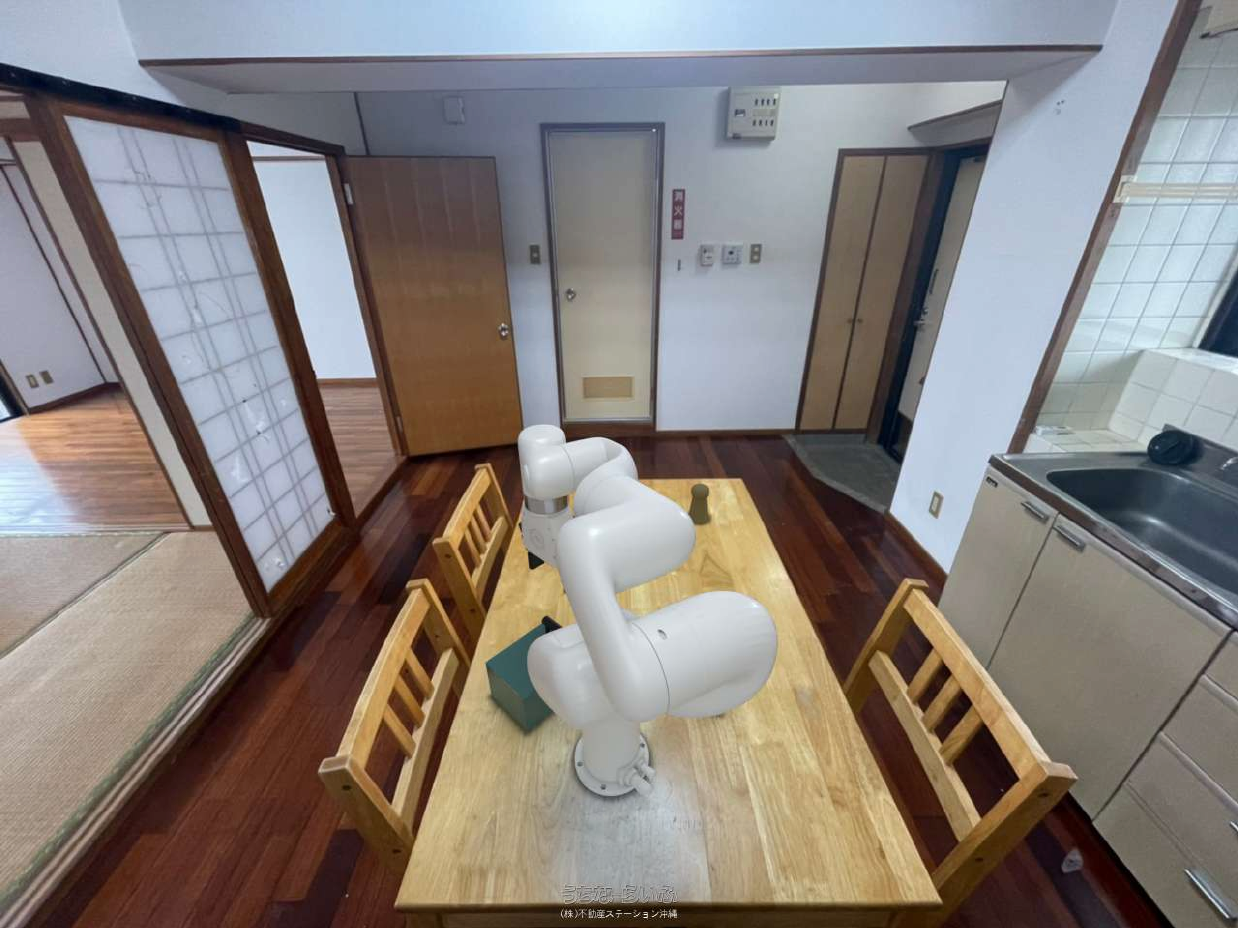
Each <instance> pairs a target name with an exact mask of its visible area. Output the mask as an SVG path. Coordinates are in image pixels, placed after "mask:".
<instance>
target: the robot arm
mask: <svg viewBox="0 0 1238 928" xmlns="http://www.w3.org/2000/svg"><path fill="white" fill-rule="evenodd" d="M517 449H518V458H519V468H520V475H521V485H522V493H523V500H522V504H521V505H522V506H521V521H520V522H518V523H517V525H518V528H519V530H520V533H521V539H522V543H523V546H524V548H525V551H527V559H528V560H527V561H528V569H530V570H531V571H533V570H535V569H537V568H539V567H540V566H542V565H544V564H545V563H547V565H550V566H551V567H554V568H557V571H558V575H559V578H560V582H561V584H562V587H563V594H564V595H565V596H566V598H567V601H568V604H569V606H570V608H571V611H572V613H573V617H574V619H575V622H573V623H570V624H568V625H565V626H562V627H563V628H560V629H558V630H555V631H552V632H550V633H547V634H545V635H543V636H541V637H539V638H537V639H536V640H535V641H534V642H533V643H532V644H531V646H530V648H529V651H528V656H527V667H528V673H529V676H530V679H531V682H532V684H533V686H534V688H535V690H536V692H537V693H538V695H539V696H540V697H541V699H542V700H543V701H544V702H545V703H546V704H547V705H548V706H549V707H550V708H551V709H552V710H553V711H552V712H553V713H554V714H555V715H556V716H557V717H558V718H559V719H560V721H562V722H563V723H564V724H566V726H568V727H569V728H571V729H573V730H575V731H581V737H580V738H579V740H578V741H577V744H576V747H575V749H574V768H575V771H576V775H577V777H578V779H579V780H580V781H581V783H582V784H583V785H584V786H585V787H586V788H587V789H588V790H590V791H591V792H593V793H595V794H597V795H600V796H605V797H617V796H621V795H625V794H627V793H629V792H631V791H633V790H634V789H635V790H636V791H637V792H638V793H639V794H640V795H641V796H642V797H643V798H644V799H647V798H648V797H649V796H650V795H651V793H652V791H653V786H652V784H650V783H649V782H648V781H647V780H646V779H645V776H646V777H647V778H648V779H649V780H653V779H654V778H655V776H656V773H657V771H656V770H655V769H653V767H651V766H649V761H650V753H649V747H648V744H647V742H646V740H645V738H644V737H643V735H642V734H641V723H646V722H651V721H653V720H656V719H658V718H661V717H663V716H664V715H667V716H671V717H675V718H683V719H703V718H704V719H705V718H711V717H715V716H720V715H723V714H725V713H728V712H731V711H733V710H735V709H737V708H739V707H741V706H743V705H745V704H746V703H747V702H749V701H750V700H752V699H753V698H754V697H755V696H756V695H757V694H758V693H759V692H761V690H762V689H763V687H764V686H765V685H766V683H767V682H768V680H769V679H770V677H771V674H772V672H773V670H774V667H775V663H776V660H777V654H778V645H779V639H778V631H777V626H776V623H775V621H774V618H773V617H772V615H771V614H770V612H769V611H768V610H767V608H766V607H765V606H764V605H763V604H762V603H761V602H759V601H758V600H757V599H756V598H753V597H752V596H749V595H747V594H745V593H741V592H737V591H733V590H713V591H707V592H702V593H698V594H695V595H692V596H690V597H687V598H684V599H681V600H679V601H677V602H674V603H671V604H669V605H666V606H663V607H661V608H659V609H657V610H653V611H652V612H649V613H647V614H645V615H642V616H639V615H637V614H636V613H635V612H634V611H632V610H631V609H628V608H622V607H621V605H620V602H619V600H618V597H617V594H620V593H623V592H626V591H627V590H631V589H633V588H636V587H639V586H642V585H644V584H646V583H649V582H652V581H654V580H655V581H656V580H658V579H660V578H663V577H665V576H667V575H669V574H670V573H673V572H675V571H676V570H678V569H679V568H680V567H682V566H683V565H684V564H685V563H687V561H688V559H689V558H690V557H691V556H692V554H693V552H694V549H695V547H696V542H697V531H696V526H695V523H693V521H692V519H691V518H690V516H689V515H688V514H689V512H687V511H686V510H685V509H684V508H683V507H682V506H680V505H679V504H678V503H676V502H675V501H673V500H672V499H670V498H669V497H667V496H665V495H663V494H662V493H659V492H658V491H656V490H654V489H653V488H651V487H649V486H647V485H645V484H643V483H641V482H639V474H638V470H637V466H636V463H635V461H634V459H633V457H632V455H631V453H630V452H629V450H628V449H627V448H626V447H625V446H623V444H620V443H618V442H616V441H614V440H612V439H609V438H606V437H602V436H595V437H588V438H584V439H578V440H573V441H570V442H569V441H568V442H567V440H566V435H565V433H564V431H563V430H562V429H561V428H560V427H558V426H556V425H552V424H543V423H542V424H534V425H531V426H528V427H526V428H524V429H522V431H521V432H520V433H519V435H518V437H517ZM572 494H574V495H573V499H572V508H571V507H570V505H571V502H570V499H571V498H570V495H572ZM572 511H573V512H572ZM572 514H573V515H574V516H575V518H574V519H573V515H572Z"/></svg>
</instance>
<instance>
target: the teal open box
mask: <svg viewBox="0 0 1238 928" xmlns="http://www.w3.org/2000/svg"><path fill="white" fill-rule="evenodd" d="M485 669H486V673H487V679H488V684H489V689H490V695H491V698H492V699H494V700H495V702H497V704H498V705H499V706H501V708H502V709H504V711H505V712H506V713H508V714H509V715H510V717H511V718H512V719H513V720H514V721H515V722H516V723H517V724H518V725H519V726H520V727H521V728H522V729H523V731H525V732H526V733H529V732H530V731H531V730H533V729H534V728H535V727H536V726H537V725H539V724H540V723H541V722H542V721H543V720H544V719H546V718H547V717H548V716H549V715H550V714H552V713H553V712H554V711H553V710H552V709H551V708H550V707H549V706H548V705H547V704H546V703H545V702H544V701H543V700H542V699H541V697H540V696H539V695H538V693H537V692H536V691H535V692H534V693H533V694H532V695H530V696H529V697H528V698H527V699H525V700H524V701H522V700H521V699H520V698H519V697H518V696H517V695H516V694H515V693H514V692H513V691H512V690H511V689H510V688H509V687H508V686H507V685H506V684H504V683H503V682H502V681H501V680H500V679H499V678H498V677H497V676H496V675H495V674H494V673H493V672H492V671H491V670H490V669H489V668H488V667H487V666H486V665H485Z"/></svg>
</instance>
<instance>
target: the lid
mask: <svg viewBox="0 0 1238 928" xmlns="http://www.w3.org/2000/svg"><path fill="white" fill-rule="evenodd" d="M563 627H564V626H563V625H561V624H560V623H559V622H557V621H556V620H554V619H553V618H552V617H551V616H550V615H544V616H543V617H542V618H541V623H540V624H539V625H537V626H536V627H534V628H533V629H531V630H530V631H528V632H527V633H525V634H524V635H523V636H521V637H519V638H518V639H517V640H515V641H514V642H513V643H511V644H509V645H508V646H506V647H505V648H504V649H502V650H501V651H499V652H498V653H497V654H495V655H494V656H492V657H491V658H489V659H488V660H487V661H486V662H484V663H485V667H486V666H487V667H488V668H489V669H490V670H491V671H492V672H493V673H494V674H495V675H496V676H497V677H498V678H499V679H500V680H501V681H502V682H503V683H504V684H506V685H507V686H508V687H509V688H510V689H511V690H512V691H513V692H514V693H515V694H516V695H517V696H518V697H519V698H520V699H521V700H522V701H524V700H525V699H527V698H528V697H529V696H530V695H532V694H533V693H534V692H535V691H536V690H535V688H534V686H533V684H532V682H531V679H530V676H529V673H528V667H527V656H528V651H529V648H530V646H531V644H532V643H533V642H534V641H535V640H536V639H537V638H539V637H541V636H543V635H545V634H547V633H550V632H552V631H555V630H558V629H560V628H563Z"/></svg>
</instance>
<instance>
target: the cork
mask: <svg viewBox="0 0 1238 928" xmlns="http://www.w3.org/2000/svg"><path fill="white" fill-rule="evenodd" d="M690 494H691V496H692V497H691V502H690V504H689V505H690V506H689V510H688V515H689V516H690V518H691V519H692V521H693V523H694V525H704V524H706V523H708V521H709V508H708V497H709V496H710V488H709V485H706V484H704V483H696V484H695V483H694V484H693V485H692V487H691V489H690Z"/></svg>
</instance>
